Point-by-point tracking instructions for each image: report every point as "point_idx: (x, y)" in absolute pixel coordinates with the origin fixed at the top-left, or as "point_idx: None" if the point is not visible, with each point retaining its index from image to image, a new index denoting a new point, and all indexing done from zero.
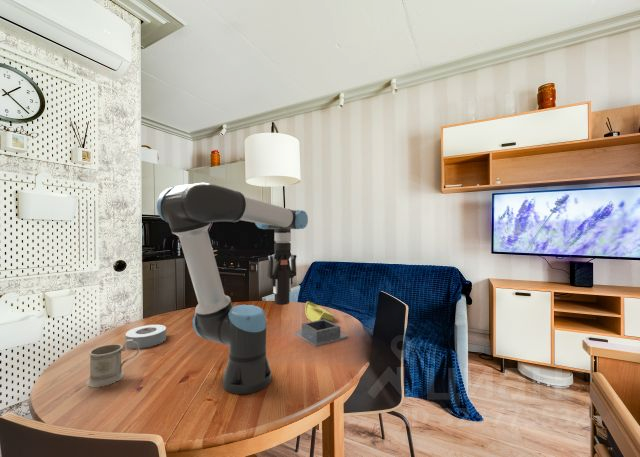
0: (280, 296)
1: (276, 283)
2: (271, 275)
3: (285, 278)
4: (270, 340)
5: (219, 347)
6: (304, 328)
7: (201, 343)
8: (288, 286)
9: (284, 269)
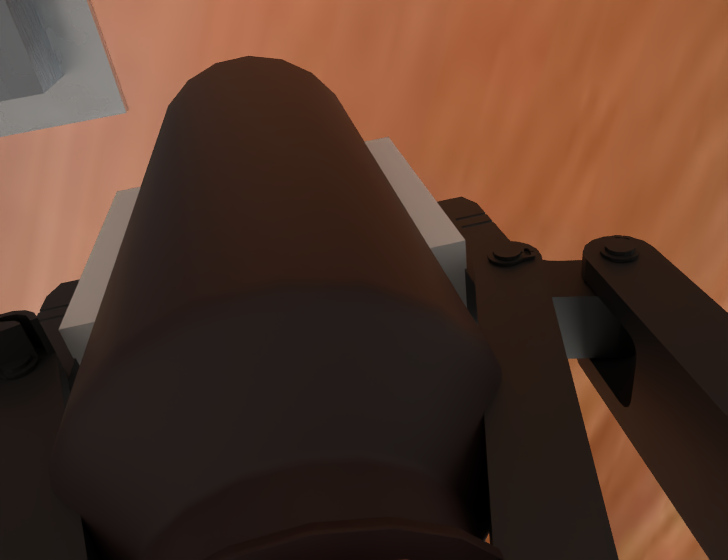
0: (316, 93)
1: (424, 206)
2: (627, 272)
3: (243, 193)
4: (344, 37)
5: (665, 54)
6: (29, 31)
7: (718, 160)
8: (163, 161)
9: (284, 383)
